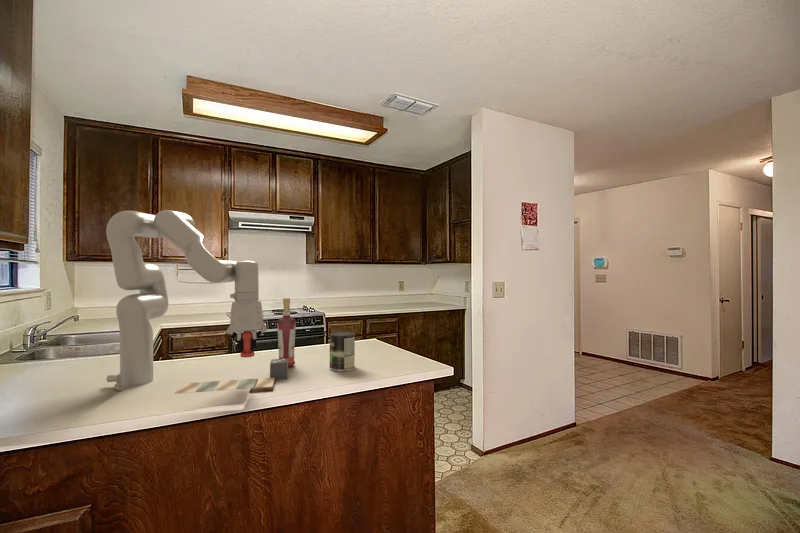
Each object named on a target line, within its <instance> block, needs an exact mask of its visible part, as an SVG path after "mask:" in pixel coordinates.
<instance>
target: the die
mask: <svg viewBox="0 0 800 533" xmlns="http://www.w3.org/2000/svg"><path fill="white" fill-rule="evenodd" d="M271 377H275V378H276V379H277V380H287V379H288V377H289V368H288V359H279V358H278V359H277V358H273V359H271V360H270V363H269V378H271Z"/></svg>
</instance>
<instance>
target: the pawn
mask: <svg viewBox="0 0 800 533" xmlns="http://www.w3.org/2000/svg"><path fill="white" fill-rule="evenodd" d="M252 337H253V335H252V331H242V339H243V352H240V358H246V359H247V358H252V357H253V358H254V357H255V350H254V351H253V352H252V351H251V340H252Z"/></svg>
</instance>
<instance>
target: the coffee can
mask: <svg viewBox="0 0 800 533" xmlns="http://www.w3.org/2000/svg"><path fill="white" fill-rule="evenodd" d="M328 336H329V370H330V371H333V372H349V371H352V369H353V370H354V369H355V361H356V360H355V356H356V355H355V345H356V343H355V339H356V337H355V336H356V333H355V332H354V331H349V330H347V331H345V330H342V331H341V330H340V331H339V330H338V331H333V332H331V333H329V335H328ZM348 370H349V371H348Z"/></svg>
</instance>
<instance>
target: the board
mask: <svg viewBox="0 0 800 533" xmlns="http://www.w3.org/2000/svg"><path fill="white" fill-rule="evenodd" d="M275 384H276V378H275V377H271V378H270V377H260V378H259V377H258V378H245V379H244V378H243V379H242V378H241V379H240V380H239V379H229V380H227V379H226V380H222V381H221V380H215V381H214V380H212V381H203V382H202V381H199V382H197V381H196V382H185V383H183V384H182V385H181V386H180V387H179V388H178V389H176V391H175V392H174V393H173V394H174V395H175V394H190V393H194V392H195V393H202V392H214V391H229V390H230V391H231V390H234V389H235V390H242V389H243V390H245V389H249V392H248V393H260V392H262V393H264V392H273V391H274V388H275Z"/></svg>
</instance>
